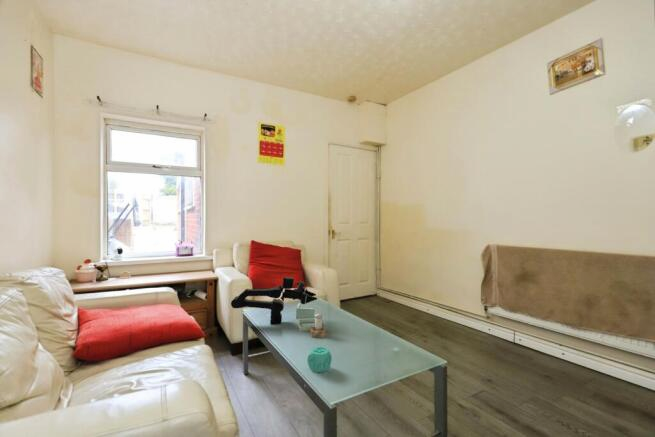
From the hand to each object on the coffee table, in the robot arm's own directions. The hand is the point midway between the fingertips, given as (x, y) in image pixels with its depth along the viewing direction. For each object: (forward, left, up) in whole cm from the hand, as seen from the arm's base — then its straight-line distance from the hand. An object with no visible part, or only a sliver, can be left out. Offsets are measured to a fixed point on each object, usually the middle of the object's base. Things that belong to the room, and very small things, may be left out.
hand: (316, 296), depth 186 cm
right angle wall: (-4, +13, -17) cm, 22 cm away
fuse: (-2, -20, -16) cm, 26 cm away
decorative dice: (-8, -55, -17) cm, 59 cm away
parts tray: (-5, -8, -17) cm, 19 cm away
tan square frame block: (-2, -20, -17) cm, 26 cm away
